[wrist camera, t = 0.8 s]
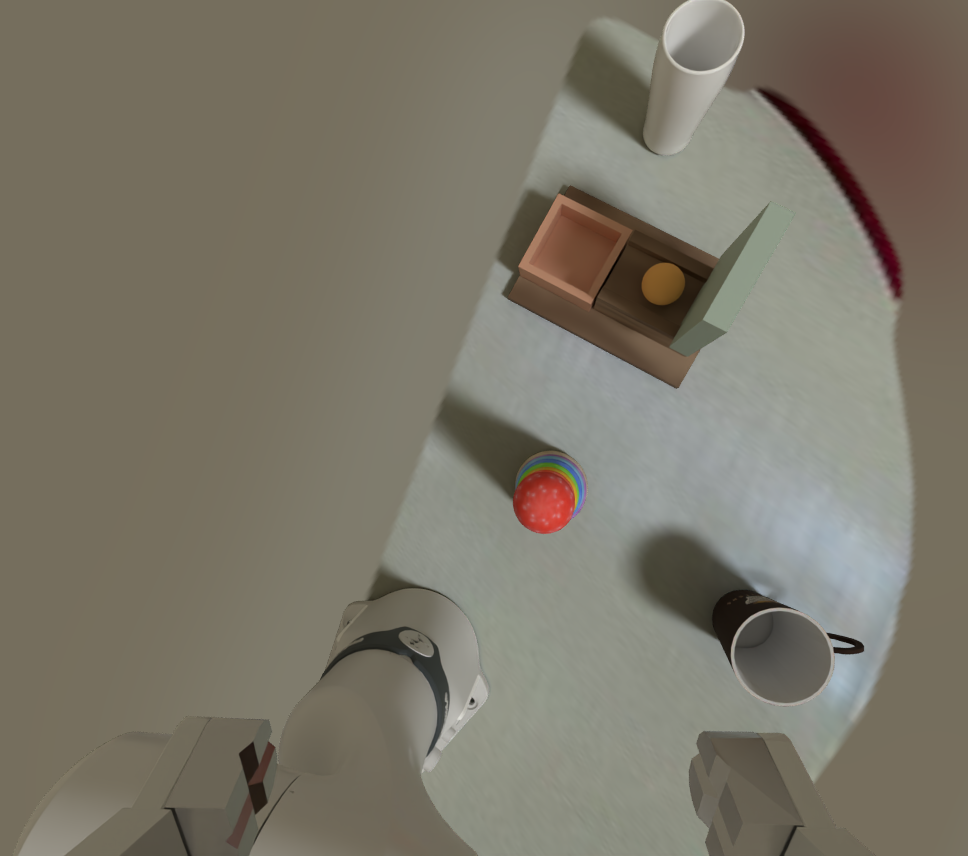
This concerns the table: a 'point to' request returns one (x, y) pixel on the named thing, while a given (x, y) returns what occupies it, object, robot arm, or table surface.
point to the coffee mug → (776, 648)
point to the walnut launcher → (629, 298)
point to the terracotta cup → (574, 252)
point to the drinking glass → (690, 71)
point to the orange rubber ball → (663, 283)
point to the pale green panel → (732, 280)
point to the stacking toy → (549, 491)
